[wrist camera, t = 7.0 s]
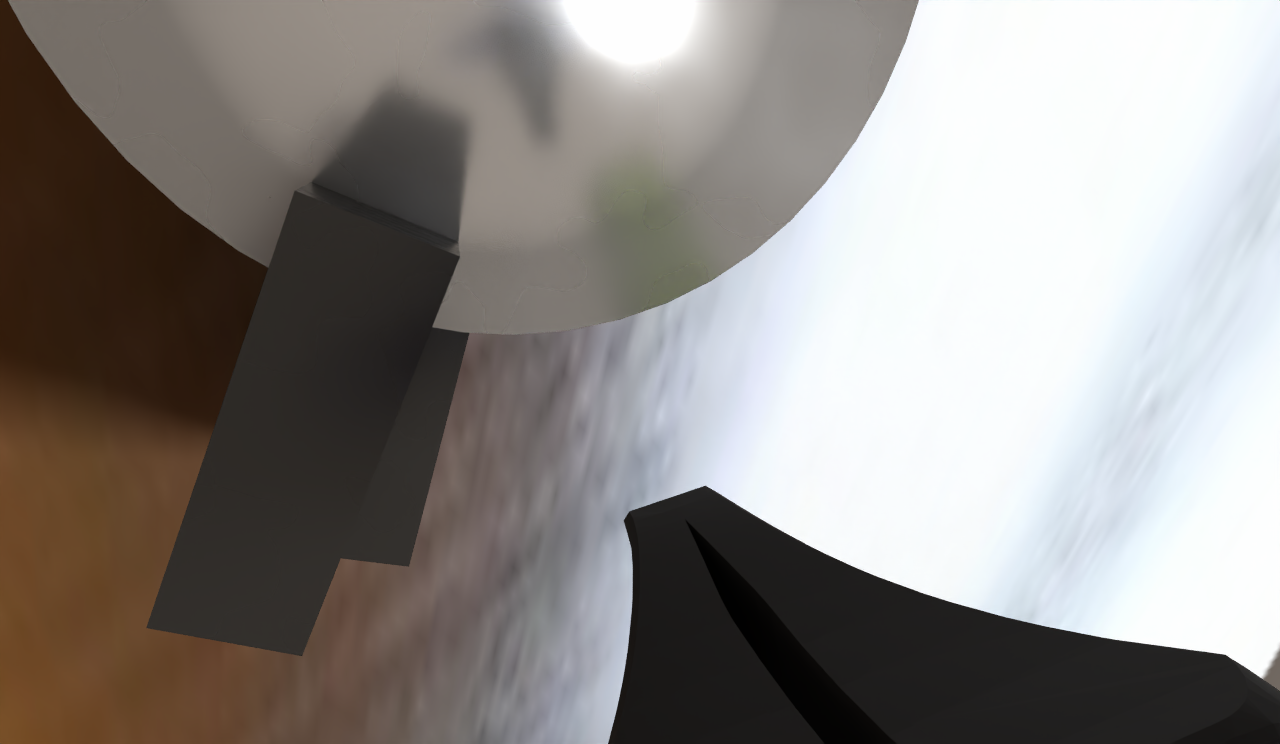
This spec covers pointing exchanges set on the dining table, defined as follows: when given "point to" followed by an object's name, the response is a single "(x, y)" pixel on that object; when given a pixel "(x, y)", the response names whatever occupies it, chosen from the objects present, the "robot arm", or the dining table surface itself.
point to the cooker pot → (408, 457)
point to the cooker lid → (439, 208)
